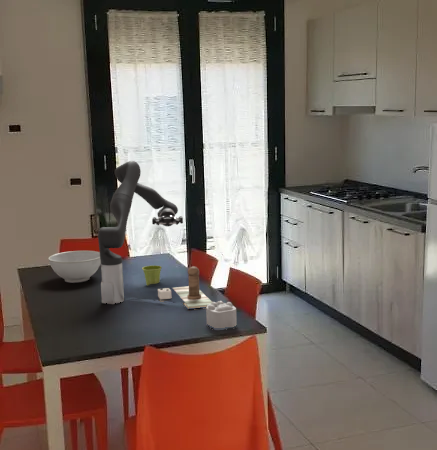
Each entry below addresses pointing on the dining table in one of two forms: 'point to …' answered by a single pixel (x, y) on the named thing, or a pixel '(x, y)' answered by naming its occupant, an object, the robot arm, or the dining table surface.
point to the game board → (192, 303)
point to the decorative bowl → (75, 265)
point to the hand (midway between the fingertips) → (167, 222)
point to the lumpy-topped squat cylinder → (221, 314)
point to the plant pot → (152, 274)
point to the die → (164, 294)
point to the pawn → (193, 283)
